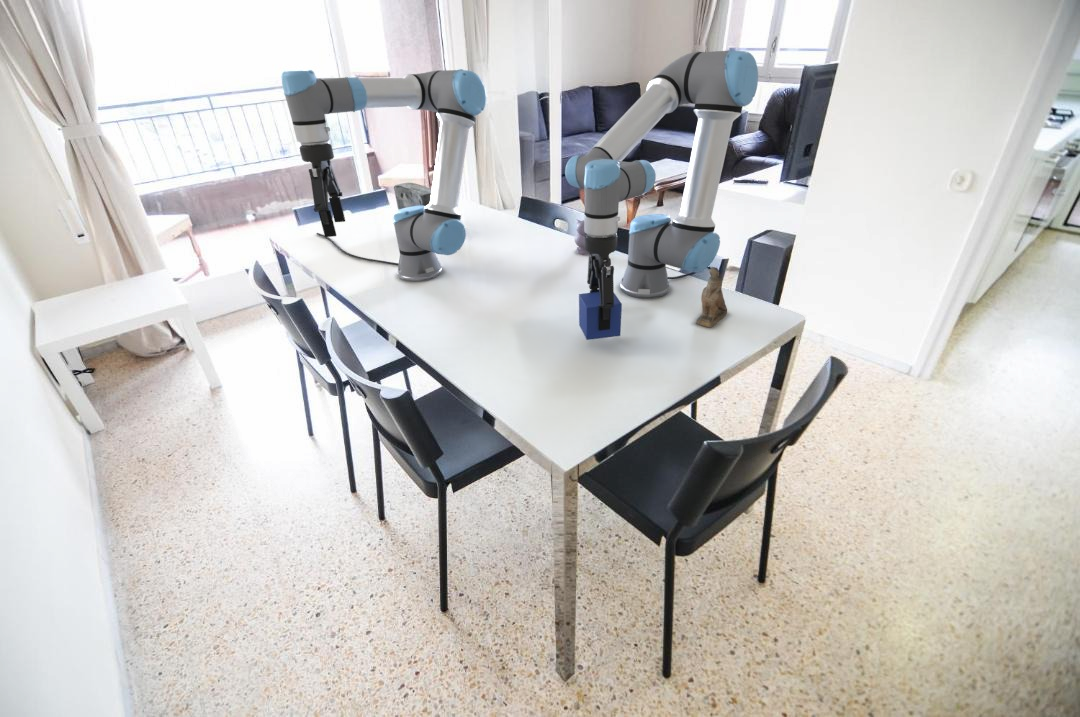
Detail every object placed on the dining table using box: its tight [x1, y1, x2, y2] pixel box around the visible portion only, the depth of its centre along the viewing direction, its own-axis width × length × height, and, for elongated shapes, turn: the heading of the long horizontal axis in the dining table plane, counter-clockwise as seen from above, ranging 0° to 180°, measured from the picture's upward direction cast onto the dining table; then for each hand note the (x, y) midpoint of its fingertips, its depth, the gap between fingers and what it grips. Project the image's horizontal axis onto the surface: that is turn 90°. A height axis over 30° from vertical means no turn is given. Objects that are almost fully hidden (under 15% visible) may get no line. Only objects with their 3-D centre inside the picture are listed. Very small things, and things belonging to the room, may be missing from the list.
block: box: [578, 292, 623, 341], centre depth 124 cm, size 9×8×9 cm
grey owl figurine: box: [574, 219, 589, 256], centre depth 186 cm, size 8×8×12 cm
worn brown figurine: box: [695, 266, 728, 328], centre depth 135 cm, size 12×6×18 cm, turn 136°
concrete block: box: [393, 182, 432, 210], centre depth 208 cm, size 27×9×20 cm, turn 36°
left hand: (335, 228), depth 133 cm, fingers open, 13 cm apart
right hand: (599, 320), depth 125 cm, fingers closed on block, 8 cm apart
